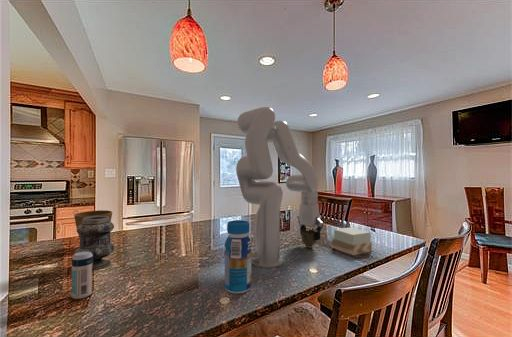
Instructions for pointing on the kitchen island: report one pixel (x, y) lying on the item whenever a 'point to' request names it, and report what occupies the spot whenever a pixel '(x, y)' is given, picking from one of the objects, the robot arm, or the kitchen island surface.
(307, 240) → the dark brown tapered piece
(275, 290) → the kitchen island surface
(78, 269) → the white pill bottle
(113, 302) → the kitchen island surface
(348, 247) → the box
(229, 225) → the beverage bottle
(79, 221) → the plant pot
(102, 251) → the dark grey carved vase
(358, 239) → the tower top
